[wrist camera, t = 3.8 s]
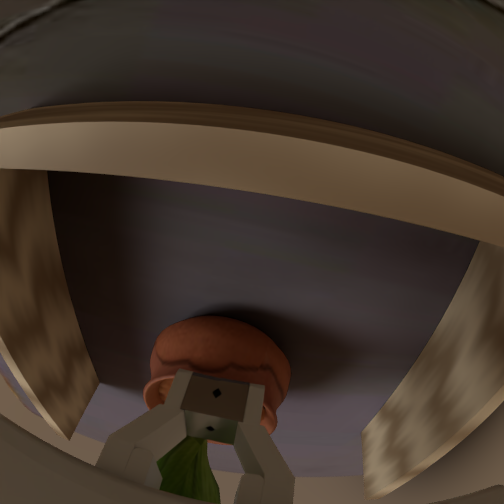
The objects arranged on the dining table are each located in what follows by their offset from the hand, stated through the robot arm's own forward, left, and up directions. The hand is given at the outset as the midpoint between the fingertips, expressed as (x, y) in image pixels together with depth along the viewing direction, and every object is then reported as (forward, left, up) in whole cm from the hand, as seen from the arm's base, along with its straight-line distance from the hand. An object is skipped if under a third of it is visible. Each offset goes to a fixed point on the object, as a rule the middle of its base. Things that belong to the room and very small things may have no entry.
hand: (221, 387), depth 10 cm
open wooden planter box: (+5, 0, -9) cm, 11 cm away
